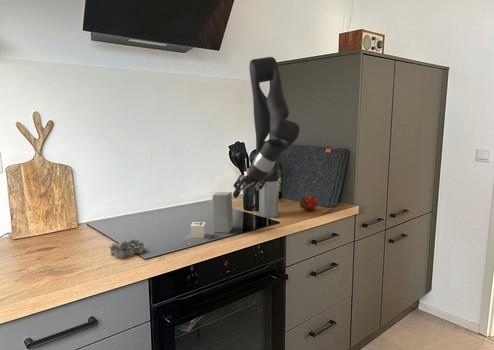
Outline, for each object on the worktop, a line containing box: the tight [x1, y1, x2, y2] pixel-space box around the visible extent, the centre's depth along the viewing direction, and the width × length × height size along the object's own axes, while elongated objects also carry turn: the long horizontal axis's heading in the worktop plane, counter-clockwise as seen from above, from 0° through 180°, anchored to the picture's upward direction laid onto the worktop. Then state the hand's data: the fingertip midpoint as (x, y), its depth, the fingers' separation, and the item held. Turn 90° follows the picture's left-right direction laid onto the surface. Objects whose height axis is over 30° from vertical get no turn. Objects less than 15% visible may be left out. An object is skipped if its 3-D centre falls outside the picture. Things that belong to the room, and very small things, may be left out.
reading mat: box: [181, 231, 215, 242], centre depth 143 cm, size 10×10×1 cm
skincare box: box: [212, 191, 234, 234], centre depth 150 cm, size 8×7×16 cm
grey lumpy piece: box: [108, 237, 145, 259], centre depth 125 cm, size 11×8×4 cm
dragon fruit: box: [299, 195, 319, 212], centre depth 185 cm, size 8×8×12 cm
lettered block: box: [190, 221, 206, 238], centre depth 143 cm, size 5×5×5 cm
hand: (242, 196), depth 144 cm, fingers open, 8 cm apart
